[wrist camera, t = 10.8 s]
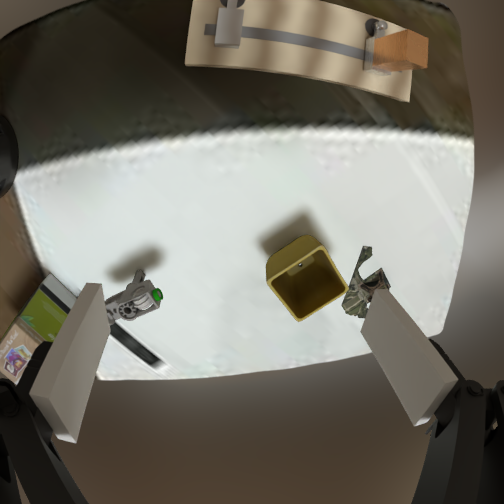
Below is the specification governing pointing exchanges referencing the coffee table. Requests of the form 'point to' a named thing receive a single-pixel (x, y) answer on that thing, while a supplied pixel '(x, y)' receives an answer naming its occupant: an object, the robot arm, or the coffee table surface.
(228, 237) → the coffee table surface
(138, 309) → the mechanical component
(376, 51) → the slide leg
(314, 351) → the coffee table surface
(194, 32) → the gauge board
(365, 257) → the eiffel tower figurine
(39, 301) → the tea box
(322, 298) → the flower pot
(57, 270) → the coffee table surface
